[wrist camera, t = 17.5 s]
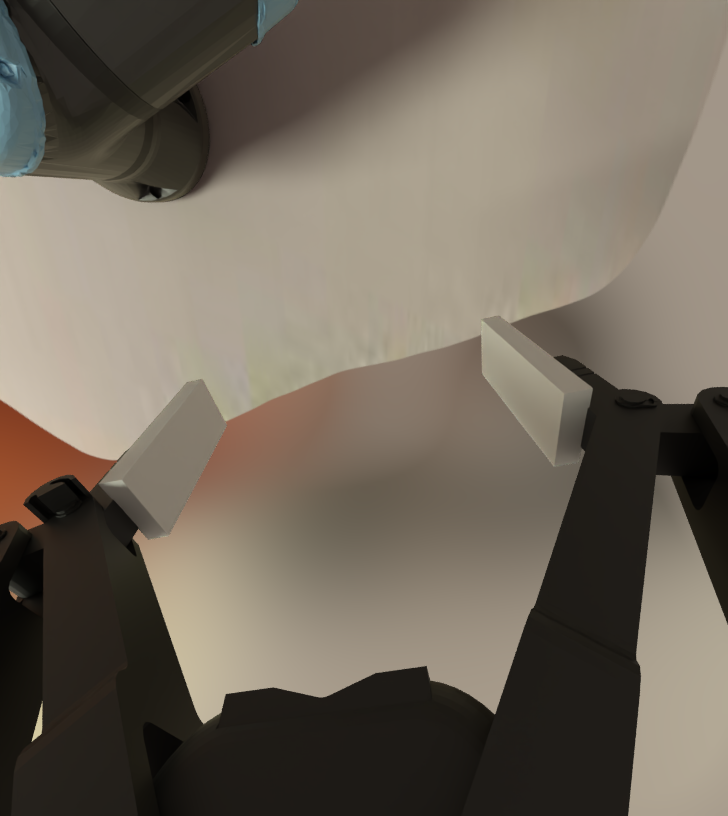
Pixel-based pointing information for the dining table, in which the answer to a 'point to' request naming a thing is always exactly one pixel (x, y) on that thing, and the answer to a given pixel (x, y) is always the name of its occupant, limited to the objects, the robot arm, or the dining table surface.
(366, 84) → the dining table surface
